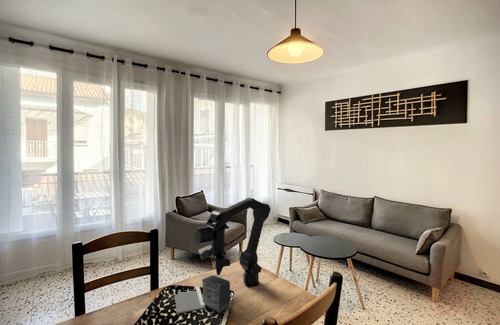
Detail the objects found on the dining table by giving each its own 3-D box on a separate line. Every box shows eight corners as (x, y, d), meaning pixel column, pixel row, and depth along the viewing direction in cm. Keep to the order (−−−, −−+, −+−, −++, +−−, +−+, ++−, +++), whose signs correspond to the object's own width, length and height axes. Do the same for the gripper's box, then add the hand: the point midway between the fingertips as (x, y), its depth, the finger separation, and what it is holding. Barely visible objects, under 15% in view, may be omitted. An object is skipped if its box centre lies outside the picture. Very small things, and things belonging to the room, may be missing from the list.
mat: (199, 289, 120) (199, 286, 120) (204, 308, 105) (204, 304, 105) (174, 293, 116) (174, 290, 116) (176, 313, 101) (176, 310, 101)
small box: (231, 306, 105) (230, 280, 105) (219, 313, 100) (219, 286, 100) (214, 298, 112) (213, 274, 112) (202, 304, 107) (201, 279, 107)
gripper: (196, 235, 121) (196, 269, 121) (203, 248, 103) (203, 287, 103) (220, 233, 124) (220, 265, 125) (230, 245, 107) (230, 283, 107)
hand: (218, 275), depth 115 cm, fingers closed
